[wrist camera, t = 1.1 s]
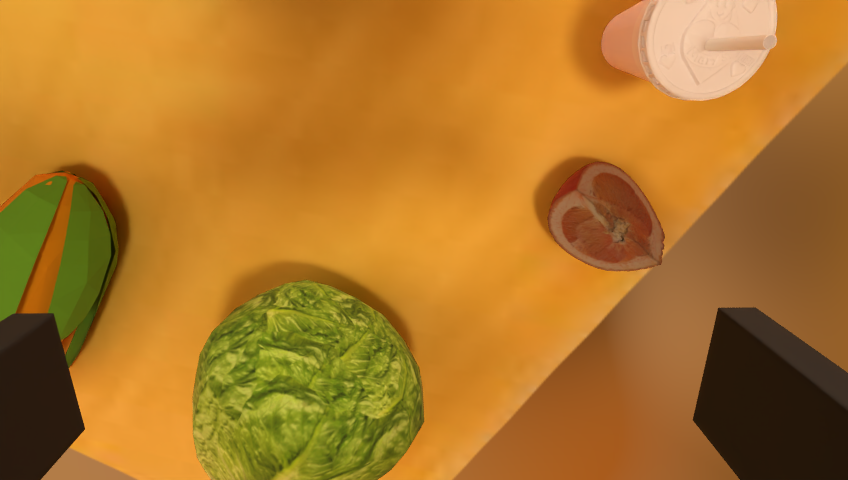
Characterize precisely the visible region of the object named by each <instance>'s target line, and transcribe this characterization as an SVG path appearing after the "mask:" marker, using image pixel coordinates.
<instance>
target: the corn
mask: <svg viewBox="0 0 848 480" xmlns="http://www.w3.org/2000/svg"><path fill="white" fill-rule="evenodd" d="M100 204H101V205H100ZM101 206H102V207H103V209H104V211H105V213H106V215H107V219H108V224H109V228H108V225H107V222H106V219H105V216H104V213H103V210H102V208H101ZM117 258H118V240H117V230H116V222H115V220H114V218H113V216H112V214H111V212H110V210H109V209H108V207H107V205H106V203H105V201H104V200H103V198H102V196H101V195H100V193H99V192H98V190H97V189H96V187H95V185H94V184H93V183H91V182H89V181H87V180H85V179H83V178H81V177H77V176H76V175H75V174H72V173H70V172H69V171H68V172H64V171H59V172H55V173H50V174H41V175H35V176H34V177H33V178H32V179H31V180H29V181H28V182H27V183H26V184H25V185H24V186H23V187H22V188H20V189H19V190H18V191H17V192H16V193H15V194H14V195H13V196H12V197H10V198H9V199H8V200H7V201H6V202H5V203H4V204H3V205H2V206H1V207H0V322H1V321H2V320H4V319H5V318H7V317H8V316H10V315H12V314H14V313H54V317H55V320H56V324H57V328H58V331H59V335H60V339H61V342H62V341H63V339H64V338H66V337H67V336H68V335H69V334H70V333H71V332H73V331H74V330H75V329H76V327H77V329H76V332H75V334H74V336H73V339H72V341H71V343H70V346H69V348H68V350H67V352H66V355H65V357H66V361H67V364H68V368H69V367H70V366H71V364H72V363H73V361H74V360H75V358H76V357H77V355H78V354H79V352H80V349H81V347H82V345H83V342H84V340H85V338H86V335H87V333H88V331H89V328H90V326H91V324H92V322H93V319H94V317H95V315H96V312H97V310H98V307H99V305H100V303H101V300H102V298H103V296H104V293H105V291H106V289H107V286H108V284H109V282H110V279H111V277H112V275H113V272H114V270H115V268H116V265H117Z"/></svg>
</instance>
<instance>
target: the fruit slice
mask: <svg viewBox="0 0 848 480" xmlns="http://www.w3.org/2000/svg"><path fill="white" fill-rule="evenodd" d="M548 226H549V230H550V232H551V234H552V236H553V238H554V239H555V241H556V242H557V243H558V244H559V245H560V246H561V247H562V248H563V249H564V250H565V251H566V252H567V253H569V254H570V255H572V256H573V257H575V258H577V259H578V260H580V261H582V262H584V263H586V264H588V265H590V266H593V267H595V268H599V269H602V270H607V271H634V270H640V269H647V268H652V267H654V266H658V265H661V263H662V255H663V251H662V250H663V249H664V244H663V241H664V239H665V235H664V232H663V229H662V227H661V223H660V222H659V220H658V218H657V216H656V214H655V212H654V210H653V208H652V206H651V205H650V203H649V201H648V199H647V198H646V196H645V195H644V193H643V192H642V191H641V189H640V188H639V186H638V185H637V184H636V183H635V182H634V181H633V180H632V179H631V178H630V176H628V175H627V174H626V173H625V172H624V171H623V170H621V169H620V168H618V167H616V166H614V165H612V164H609V163H605V162H594V163H591V164H588V165H586V166H584V167H583V168H581V169H580V170H578V171H577V172H575V173H574V174H573V175H572V176H571V177H569V178H568V179H567V181H566V182H565V183H564V184H563V185H562V187H561V188H560V190H559V191H558V193H557V194H556V196H555V197H554V199H553V201H552V204H551V208H550V210H549V215H548Z"/></svg>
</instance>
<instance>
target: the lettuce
mask: <svg viewBox="0 0 848 480" xmlns="http://www.w3.org/2000/svg"><path fill="white" fill-rule="evenodd" d="M423 423H424V407H423V387H422V381H421V376H420V370H419V367H418V365H417V363H416V361H415V359H414V358H413V356H412V354H411V352H410V350H409V348H408V346H407V345H406V343H405V341H404V340H403V338H402V337H401V336H400V335H399V333H398V332H397V331H396V330H395V328H394V327H393V326H392V325H391V324H390V322H389V321H388V320H387V319H386V317H385V316H384V315H383V314H381V313H379V312H378V311H376V310H375V309H373V308H371V307H370V306H368V305H367V304H365V303H363V302H362V301H360V300H359V299H357V298H355V297H353V296H351V295H349V294H347V293H345V292H343V291H340V290H338V289H336V288H334V287H332V286H329V285H325V284H321V283H317V282H313V281H309V280H303V281H298V282H292V283H286V284H283V285H281V286H278V287H276V288H273V289H271V290H269V291H266V292H264V293H261V294H259V295H257V296H256V297H254V298H252V299H251V300H249V301H247V302H246V303H244V304H242V305H241V306H239V307H237V308H236V309H235V310H234V311H233V312H232V313H231V314H230V315H229V316H228V317H227V318H226V319H225V320H224V321H223V322H222V323H221V324H220V325H219V326H218V327H217V328H215V329H214V330H213V331H212V333H211V335H210V337H209V338H208V340H207V342H206V344H205V346H204V348H203V349H202V351H201V353H200V356H199V362H198V367H197V372H196V378H195V385H194V391H193V437H194V443H195V448H196V454H197V458H198V460H199V461H200V463H201V465H202V467H203V468H204V470H205V472H206V473H207V475H208V476H209V477H210V479H211V480H378V479H379V478H381V477H382V476H383V475H385V474H386V473H387V472H389V471H390V470H391V469H392V468H393V467H394V466H395V465H396V463H397V462H398V461H399V460H400V459H401V457H402V456H403V455H404V454H405V453H406V451H407V450H408V448H409V447H410V445H411V443H412V441H413V440H414V438H415V436H416V435H417V433H418V431H419V430H420V428H421V426H422V424H423Z"/></svg>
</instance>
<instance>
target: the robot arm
mask: <svg viewBox="0 0 848 480" xmlns="http://www.w3.org/2000/svg"><path fill="white" fill-rule="evenodd" d="M693 421H694V422H695V423H696V425H697V426H698V427H699V428H700V430H701V431H702V432H703V434H704V435H705V436H706V437H707V439H708V440H709V441H710V442H711V444H713V446H714V447H715V449H716V450H717V451H718V452H719V453H720V455H721V456H722V457H723V458H724V460H725V461H726V462H727V464H728V465H729V466H730V468H731V469H732V470H733V471H734V473H735V474H736V475H737V476H738V478H739V479H740V480H848V373H847V372H846V371H844V370H843V369H842V368H840V367H839V366H837V365H836V364H835V363H833V362H832V361H830V360H829V359H828V358H826V357H825V356H823V355H822V354H820V353H819V352H818V351H816V350H815V349H813V348H812V347H811V346H809V345H808V344H806V343H805V342H803V341H802V340H801V339H799V338H798V337H796V336H795V335H793V334H792V333H791V332H789V331H788V330H787V329H785V328H784V327H782V326H781V325H779V324H778V323H776V322H775V321H774V320H772V319H771V318H770V317H768V316H766V315H765V314H764V313H763V312H761V311H759V310H758V309H757V308H718V312H717V316H716V321H715V325H714V330H713V334H712V338H711V343H710V347H709V351H708V355H707V360H706V364H705V369H704V374H703V377H702V382H701V387H700V391H699V395H698V399H697V404H696V409H695V413H694V417H693ZM84 430H85V427H84V423H83V420H82V416H81V412H80V409H79V405H78V401H77V398H76V394H75V390H74V387H73V383H72V379H71V376H70V372H69V368H68V364H67V361H66V357H65V353H64V350H63V346H62V342H61V339H60V335H59V331H58V328H57V324H56V320H55V317H54V313H14V314H12V315H10V316H8V317H7V318H5V319H4V320H2V321H1V322H0V480H41V479H42V477H43V476H44V475H45V474H46V473H47V472H48V471H49V469H50V468H51V467H52V466H53V465H54V464H55V463H56V461H57V460H58V459H59V458H60V457H61V456H62V455H63V453H64V452H65V451H66V450H67V449H68V448H69V447H70V446H71V444H72V443H73V442H74V441H75V440H76V439H77V438H78V437H79V435H80V434H81V433H82V432H83V431H84Z"/></svg>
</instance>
